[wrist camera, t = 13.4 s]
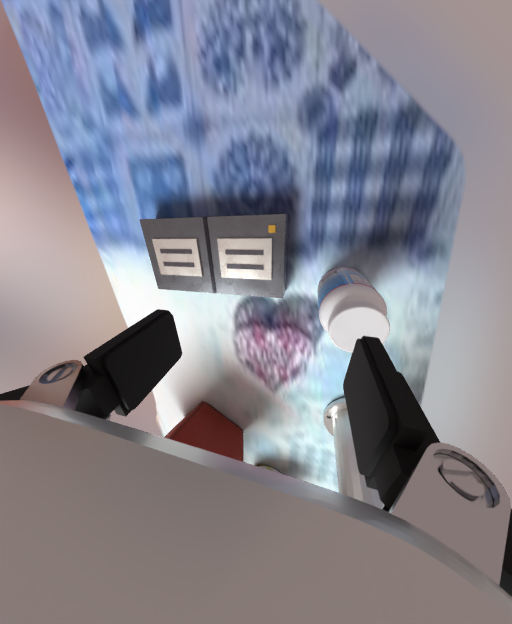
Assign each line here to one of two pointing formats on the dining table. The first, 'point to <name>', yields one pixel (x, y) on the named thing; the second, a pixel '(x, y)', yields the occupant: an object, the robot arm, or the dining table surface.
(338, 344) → the pill bottle
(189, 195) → the dining table surface
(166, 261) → the panel
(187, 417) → the plant pot
